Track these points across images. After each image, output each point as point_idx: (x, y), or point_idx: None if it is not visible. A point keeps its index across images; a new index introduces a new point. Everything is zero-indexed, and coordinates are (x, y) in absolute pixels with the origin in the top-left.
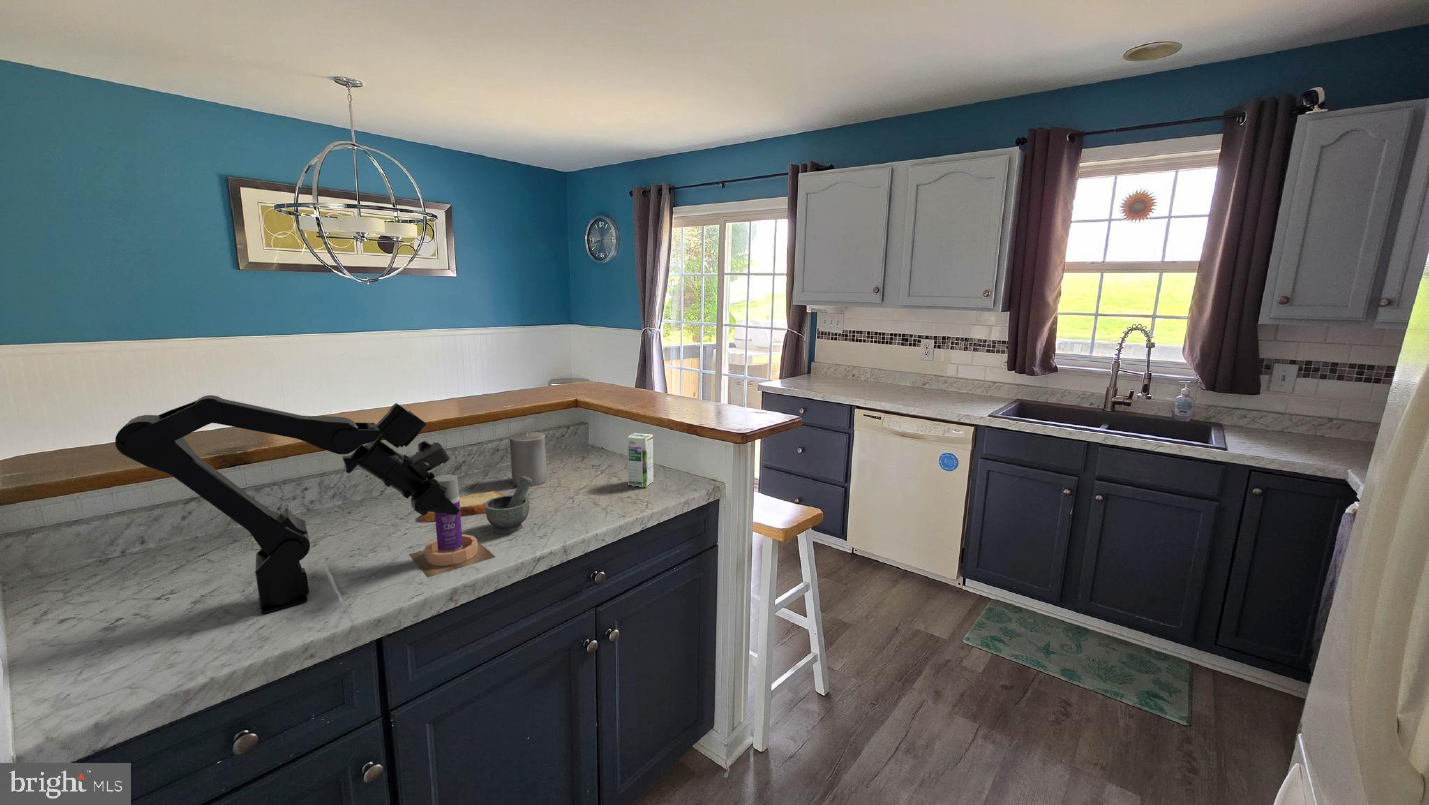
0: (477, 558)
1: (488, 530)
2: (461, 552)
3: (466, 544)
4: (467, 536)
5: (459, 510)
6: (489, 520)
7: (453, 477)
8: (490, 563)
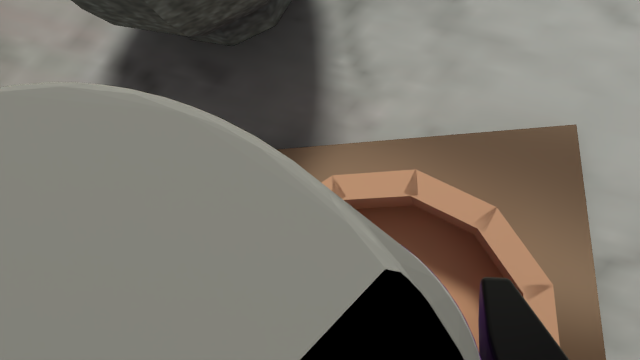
0: (531, 219)
1: (160, 62)
2: (555, 317)
3: None
4: None
5: (510, 280)
6: (205, 28)
7: (130, 252)
8: (612, 170)
